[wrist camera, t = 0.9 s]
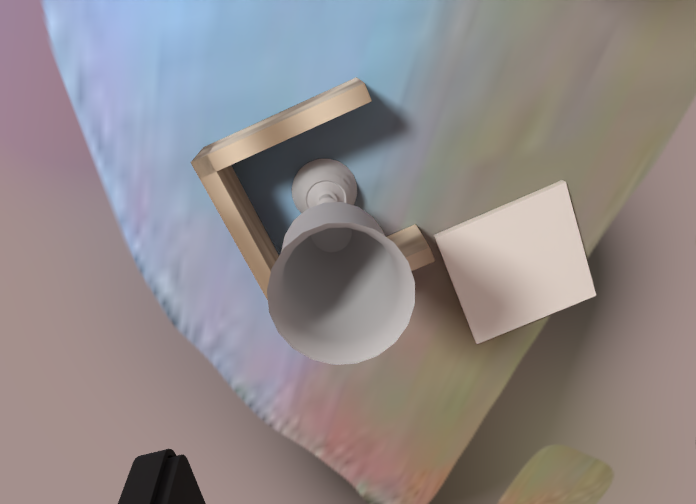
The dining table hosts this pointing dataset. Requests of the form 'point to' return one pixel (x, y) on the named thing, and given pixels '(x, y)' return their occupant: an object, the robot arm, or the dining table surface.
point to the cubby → (265, 134)
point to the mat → (517, 262)
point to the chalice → (338, 273)
